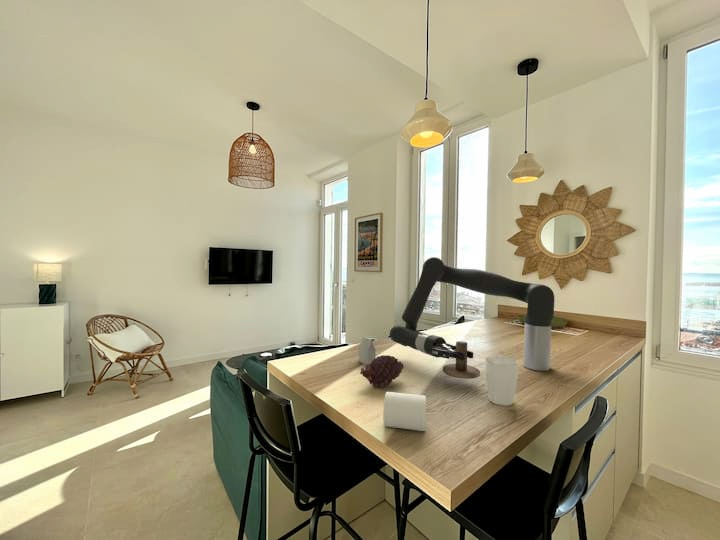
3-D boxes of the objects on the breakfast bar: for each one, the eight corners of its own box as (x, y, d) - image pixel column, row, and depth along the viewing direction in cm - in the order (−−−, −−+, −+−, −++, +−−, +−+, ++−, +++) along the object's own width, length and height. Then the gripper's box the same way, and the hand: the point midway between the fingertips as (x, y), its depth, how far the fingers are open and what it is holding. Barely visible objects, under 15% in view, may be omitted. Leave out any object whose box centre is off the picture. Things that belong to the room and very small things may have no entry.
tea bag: (367, 366, 122) (367, 340, 122) (358, 361, 128) (359, 336, 128) (375, 364, 124) (375, 339, 124) (366, 359, 130) (367, 336, 130)
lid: (460, 364, 114) (461, 336, 113) (488, 374, 103) (488, 344, 103) (435, 369, 108) (435, 340, 108) (461, 381, 97) (462, 349, 97)
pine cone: (393, 375, 113) (394, 347, 112) (413, 384, 105) (414, 354, 104) (353, 385, 102) (354, 355, 102) (372, 396, 94) (373, 364, 94)
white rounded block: (425, 438, 73) (426, 404, 72) (382, 432, 75) (383, 399, 74) (425, 413, 84) (425, 384, 84) (388, 409, 86) (389, 381, 86)
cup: (479, 394, 98) (481, 356, 97) (509, 395, 97) (510, 356, 97) (491, 407, 89) (492, 365, 88) (523, 408, 88) (524, 366, 88)
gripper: (416, 337, 113) (454, 348, 99) (443, 332, 121) (482, 342, 107) (416, 357, 114) (453, 371, 99) (443, 351, 121) (481, 364, 107)
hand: (468, 356), depth 103 cm, fingers closed on lid, 3 cm apart
